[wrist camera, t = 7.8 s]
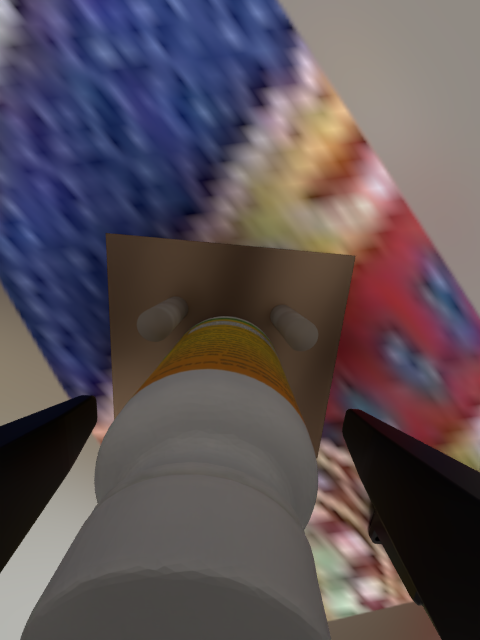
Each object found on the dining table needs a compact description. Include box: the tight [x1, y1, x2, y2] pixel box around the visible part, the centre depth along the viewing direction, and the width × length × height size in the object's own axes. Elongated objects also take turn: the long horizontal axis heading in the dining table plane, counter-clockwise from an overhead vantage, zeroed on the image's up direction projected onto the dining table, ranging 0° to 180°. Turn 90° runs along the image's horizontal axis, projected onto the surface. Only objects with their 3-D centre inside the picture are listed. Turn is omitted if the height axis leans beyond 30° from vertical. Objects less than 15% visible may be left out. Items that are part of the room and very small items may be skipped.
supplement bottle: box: [20, 316, 331, 640], centre depth 8 cm, size 5×5×10 cm
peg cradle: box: [106, 233, 355, 458], centre depth 11 cm, size 12×12×5 cm
